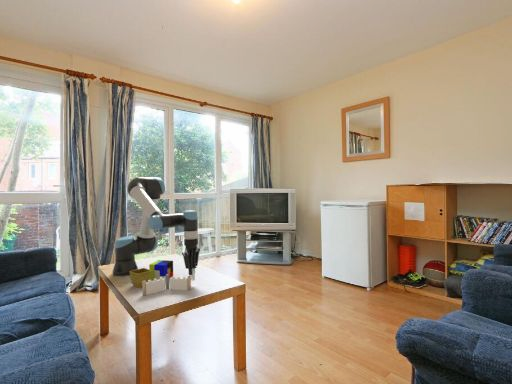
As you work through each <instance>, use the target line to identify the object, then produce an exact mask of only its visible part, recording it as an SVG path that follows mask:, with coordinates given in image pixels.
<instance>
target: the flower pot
mask: <svg viewBox="0 0 512 384" xmlns="http://www.w3.org/2000/svg"><path fill="white" fill-rule="evenodd" d="M129 277H130V281H131V284H132V286H133V287H135V288H142V281H146V283H147V282H148V280H150V278H151V270H149V268H145V267H143V268H138V269H137V270H133V271H130V275H129Z"/></svg>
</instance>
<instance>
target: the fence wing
mask: <svg viewBox="0 0 512 384" xmlns="http://www.w3.org/2000/svg"><path fill="white" fill-rule="evenodd" d="M169 290H174V291H175V290H176V291H192V280H191V276H189V275H187V278H186V276H185V275H184V276H183V277H181V276H180V275H179V276H177V277H176V276H175V275H173V276H172V277H170V278H169Z"/></svg>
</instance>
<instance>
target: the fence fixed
mask: <svg viewBox="0 0 512 384" xmlns="http://www.w3.org/2000/svg"><path fill="white" fill-rule="evenodd" d="M141 288H142V296H143V297H144V296H147V295H148V296H149V295H151V294H155V293H158V292H163V291H167V290H168V291H169V290H170V278H169V274H166V280H165V278H163V279H162V277H160V279H159V280H157V279H156V278H155V279H154V280H152V281H151V280H148V282H147V283H146V281H142V287H141Z"/></svg>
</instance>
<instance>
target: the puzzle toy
mask: <svg viewBox="0 0 512 384" xmlns="http://www.w3.org/2000/svg"><path fill="white" fill-rule="evenodd" d="M148 266H149V268H148V269H149V270H151V278H150V280H151V281H154V279H155V278H156V279H157V280H159V279H160V277H162V279H163V278H165V281H166V274H169V279H170V278H172V277H173V276H174V260H168V259H167V260H164V259H163V260H162V259H158V260H156V261H154V262H152V263H150V264H149V265H148Z"/></svg>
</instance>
